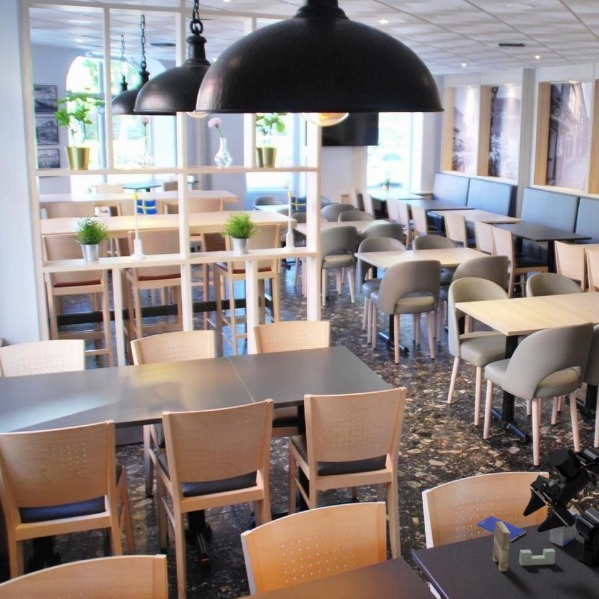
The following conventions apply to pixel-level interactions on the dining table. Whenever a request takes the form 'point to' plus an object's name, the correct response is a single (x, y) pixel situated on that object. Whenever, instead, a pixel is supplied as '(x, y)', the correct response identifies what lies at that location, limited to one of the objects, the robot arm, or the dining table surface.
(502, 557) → the birch plate
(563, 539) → the medicine box
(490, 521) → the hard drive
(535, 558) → the pale green u-shaped block
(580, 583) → the dining table surface
